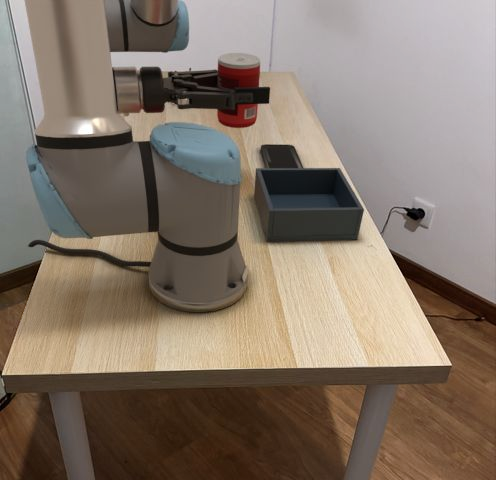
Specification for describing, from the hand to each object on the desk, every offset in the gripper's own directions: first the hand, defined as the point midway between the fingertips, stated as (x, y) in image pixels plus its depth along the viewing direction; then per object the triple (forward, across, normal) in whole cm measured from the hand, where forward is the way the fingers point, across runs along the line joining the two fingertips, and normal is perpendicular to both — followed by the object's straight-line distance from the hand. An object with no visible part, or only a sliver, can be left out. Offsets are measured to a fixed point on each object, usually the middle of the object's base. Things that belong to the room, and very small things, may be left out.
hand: (262, 87), depth 101 cm
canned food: (-5, 0, -6) cm, 8 cm away
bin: (+5, +18, -18) cm, 26 cm away
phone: (+7, -6, -18) cm, 20 cm away
